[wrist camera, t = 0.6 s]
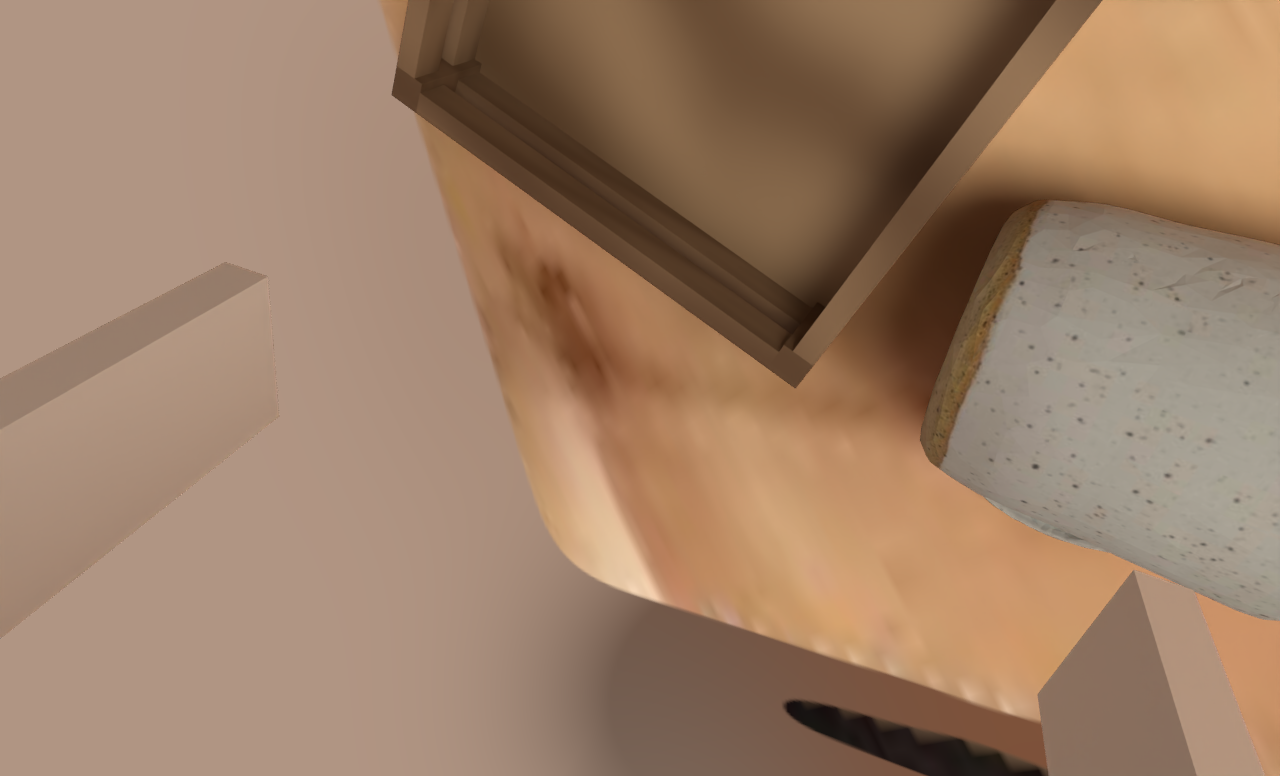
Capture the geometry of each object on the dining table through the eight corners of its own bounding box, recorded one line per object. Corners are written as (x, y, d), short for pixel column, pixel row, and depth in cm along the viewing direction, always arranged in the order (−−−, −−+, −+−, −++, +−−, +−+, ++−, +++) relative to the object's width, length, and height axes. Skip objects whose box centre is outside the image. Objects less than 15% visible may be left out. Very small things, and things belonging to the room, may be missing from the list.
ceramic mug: (1029, 143, 20) (969, 266, 15) (1430, 225, 17) (1540, 418, 12) (921, 456, 27) (851, 624, 21) (1200, 556, 24) (1202, 780, 18)
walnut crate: (595, -485, 18) (504, -536, 16) (1198, -132, 16) (1201, -126, 14) (461, 71, 28) (391, 94, 25) (832, 335, 26) (795, 388, 23)
